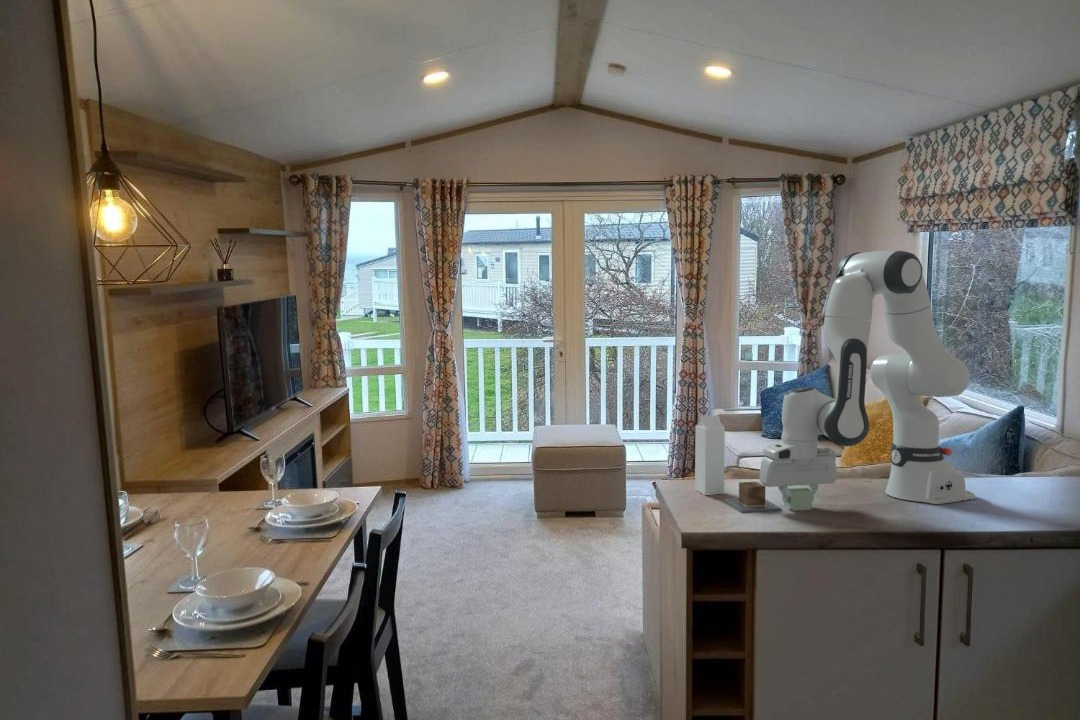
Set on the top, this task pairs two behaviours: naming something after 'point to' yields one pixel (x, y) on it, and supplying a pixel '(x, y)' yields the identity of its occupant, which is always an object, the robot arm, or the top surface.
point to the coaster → (743, 508)
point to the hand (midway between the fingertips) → (798, 501)
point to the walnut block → (751, 493)
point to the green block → (799, 498)
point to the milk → (709, 455)
